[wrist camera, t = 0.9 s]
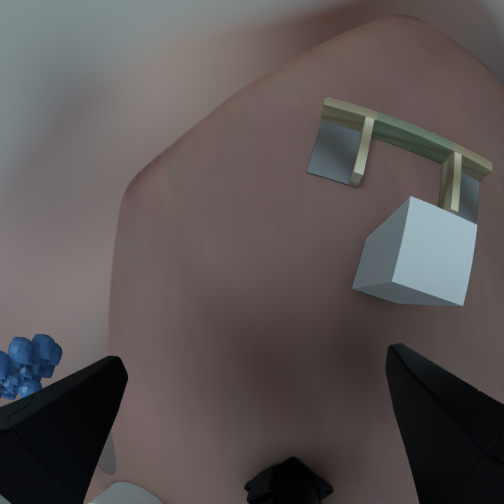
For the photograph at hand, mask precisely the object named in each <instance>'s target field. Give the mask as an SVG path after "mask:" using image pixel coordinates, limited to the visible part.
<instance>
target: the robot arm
mask: <svg viewBox="0 0 504 504" xmlns="http://www.w3.org/2000/svg"><path fill="white" fill-rule="evenodd" d="M385 370H386V376H387V380H388V385H389V390H390V394H391V400H392V405H393V409H394V413H395V417H396V420H397V423H398V426H399V429H400V433H401V436H402V439H403V443H404V446H405V449H406V453H407V456H408V460H409V464H410V467H411V471H412V475H413V479H414V483H415V487H416V491H417V495H418V499H419V504H504V404H502V403H500V402H498V401H497V400H495V399H493V398H491V397H490V396H488V395H486V394H484V393H483V392H481V391H478V389H476V388H474V387H473V386H471V385H470V384H468V383H466V382H465V381H463V380H461V379H460V378H458V377H456V376H455V375H453V374H451V373H450V372H448V371H447V370H445V369H443V368H442V367H440V366H438V365H437V364H435V363H433V362H432V361H430V360H429V359H427V358H425V357H424V356H422V355H420V354H419V353H417V352H415V351H414V350H412V349H410V348H409V347H407V346H406V345H404V344H402V343H398V344H392V345H390V346H389V347H388V351H387V358H386V365H385ZM127 381H128V374H127V371H126V369H125V367H124V365H123V362H122V360H121V358H120V357H118V356H107V357H105V358H103V359H101V360H99V361H97V362H95V363H93V364H91V365H89V366H87V367H86V368H83V369H81V370H79V371H77V372H76V373H73V374H71V375H69V376H67V377H65V378H63V379H61V380H59V381H57V382H55V383H53V384H51V385H49V386H47V387H45V388H43V389H41V390H39V391H37V392H36V393H35V392H34V393H32V394H30V395H28V396H26V397H24V398H21V399H19V400H17V401H15V402H12V403H10V404H7V405H4V406H2V407H0V504H83V502H84V499H85V496H86V493H87V490H88V487H89V485H90V482H91V479H92V476H93V474H94V471H95V468H96V466H97V463H98V460H99V458H100V455H101V453H102V450H103V447H104V445H105V443H106V440H107V438H108V435H109V433H110V430H111V428H112V425H113V423H114V420H115V418H116V416H117V413H118V410H119V407H120V404H121V400H122V397H123V394H124V391H125V387H126V384H127ZM292 461H294V462H295V463H291V462H292ZM248 486H249V487H251V488H249V487H248ZM244 489H245V490H246V491H247V492H249V494H248V497H247V502H248V503H249V504H321V500H322V499H323V498H325V497H327V496H328V495H330V494H332V493H333V488H332V487H331V486H330V485H329V484H328V483H326V482H325V481H324V480H322V479H321V478H320V477H319V476H317V475H316V474H315V473H314V472H312V471H311V470H310V469H309V468H308V467H306V466H305V465H304V464H303V463H302V462H300V461H299V460H298V459H297V458H295V457H291V458H289V459H288V460H286V461H284V462H283V463H281V464H279V465H278V466H276V467H271V468H269V469H268V470H266V471H264V472H263V473H261V474H259V475H257V476H256V477H254V478H253V480H252V481H250V482H248V483H246V484H245V487H244ZM327 490H330V491H327Z"/></svg>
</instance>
